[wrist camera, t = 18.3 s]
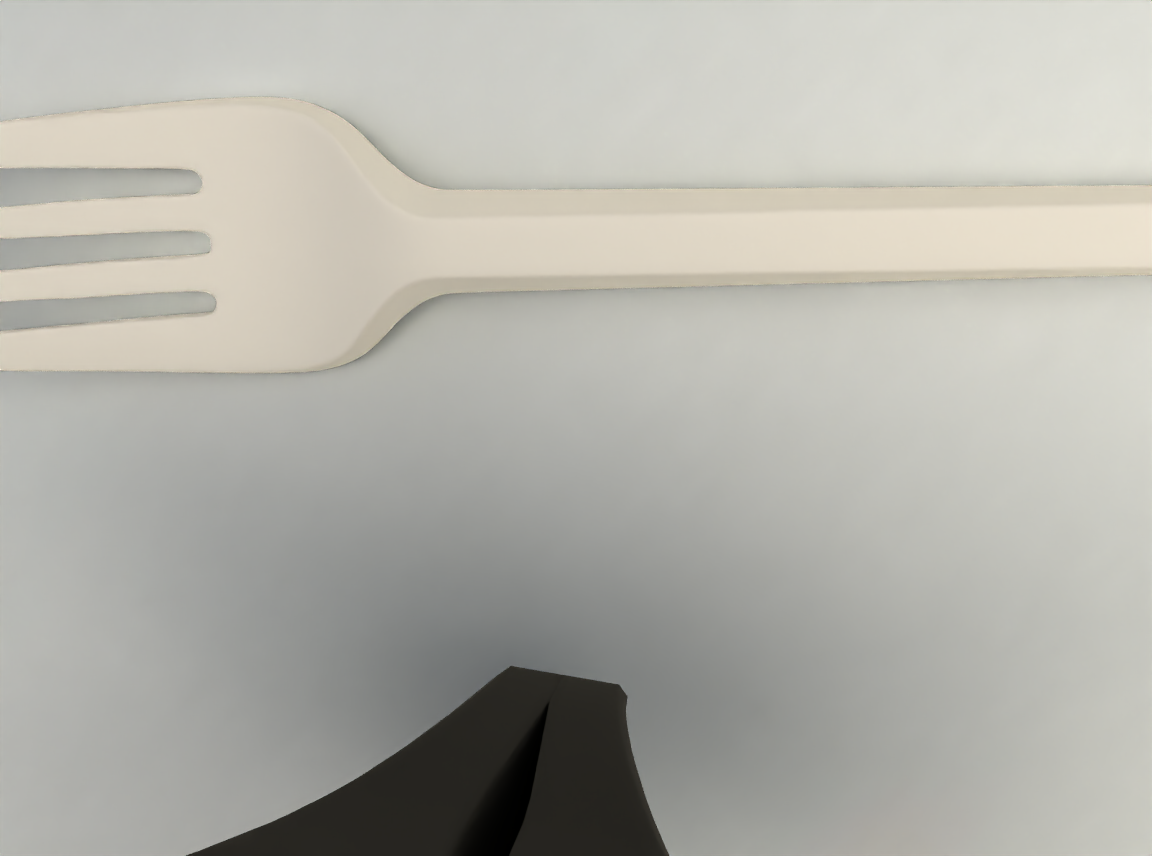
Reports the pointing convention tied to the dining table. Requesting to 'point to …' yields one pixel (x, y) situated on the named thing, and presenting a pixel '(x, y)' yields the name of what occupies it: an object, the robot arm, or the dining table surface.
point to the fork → (468, 237)
